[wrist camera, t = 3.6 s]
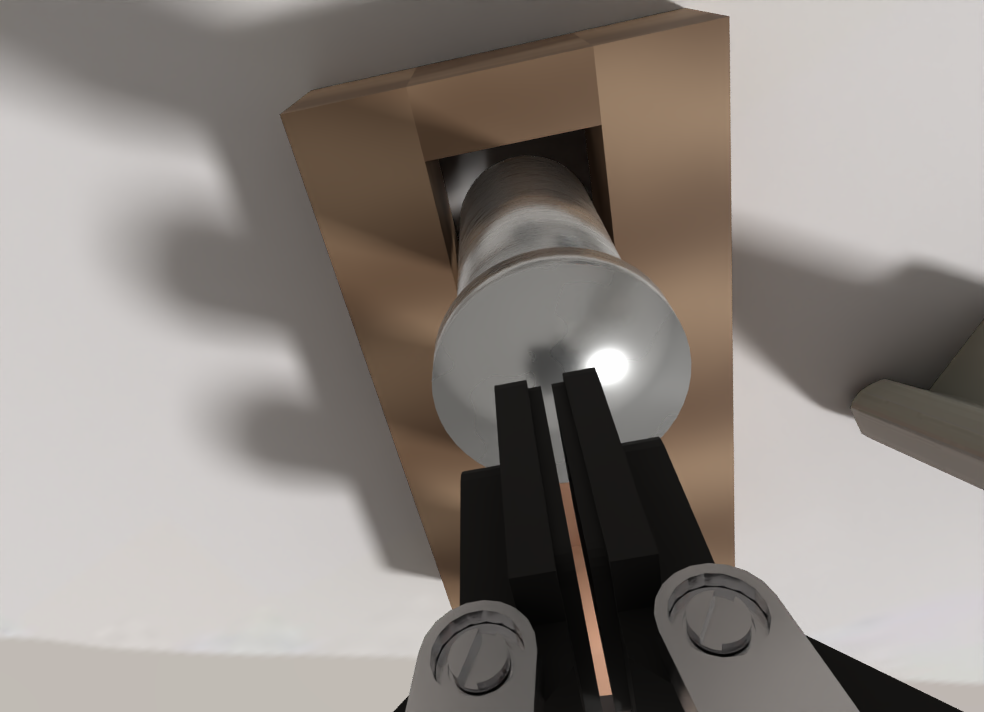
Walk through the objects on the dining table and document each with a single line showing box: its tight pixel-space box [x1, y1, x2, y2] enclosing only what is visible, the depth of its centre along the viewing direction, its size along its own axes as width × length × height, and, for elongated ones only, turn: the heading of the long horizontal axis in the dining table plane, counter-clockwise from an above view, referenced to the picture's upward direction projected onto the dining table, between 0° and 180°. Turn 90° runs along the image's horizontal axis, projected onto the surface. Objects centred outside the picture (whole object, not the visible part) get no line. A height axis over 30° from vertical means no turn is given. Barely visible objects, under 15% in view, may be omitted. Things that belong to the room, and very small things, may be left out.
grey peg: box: [432, 156, 691, 483], centre depth 16 cm, size 5×5×9 cm
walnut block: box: [280, 8, 735, 609], centre depth 25 cm, size 24×12×4 cm, turn 11°
